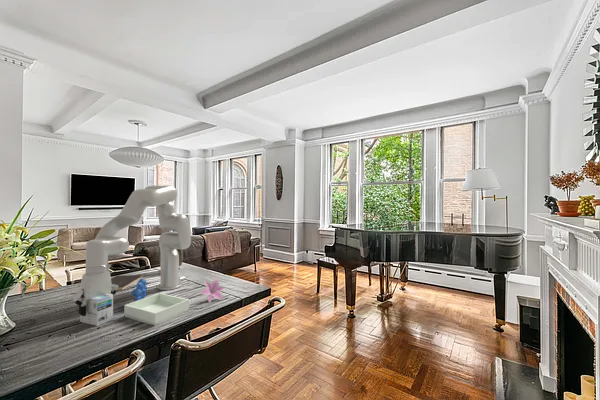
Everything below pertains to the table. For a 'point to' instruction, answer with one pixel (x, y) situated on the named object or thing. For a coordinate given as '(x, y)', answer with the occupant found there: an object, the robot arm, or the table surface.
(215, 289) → the lily
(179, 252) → the tabletop clock
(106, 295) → the light bulb box
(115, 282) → the hardcover book
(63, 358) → the table surface
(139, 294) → the grapes
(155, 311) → the bin
